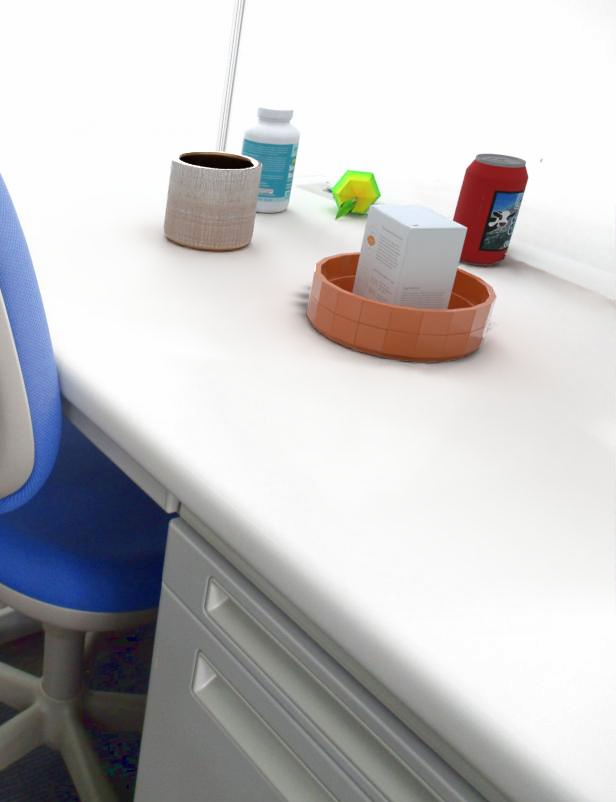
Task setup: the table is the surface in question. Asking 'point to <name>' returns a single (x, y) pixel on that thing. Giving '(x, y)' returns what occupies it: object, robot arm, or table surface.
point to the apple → (355, 192)
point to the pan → (398, 316)
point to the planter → (212, 200)
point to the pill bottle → (273, 155)
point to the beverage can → (490, 206)
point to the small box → (409, 256)
